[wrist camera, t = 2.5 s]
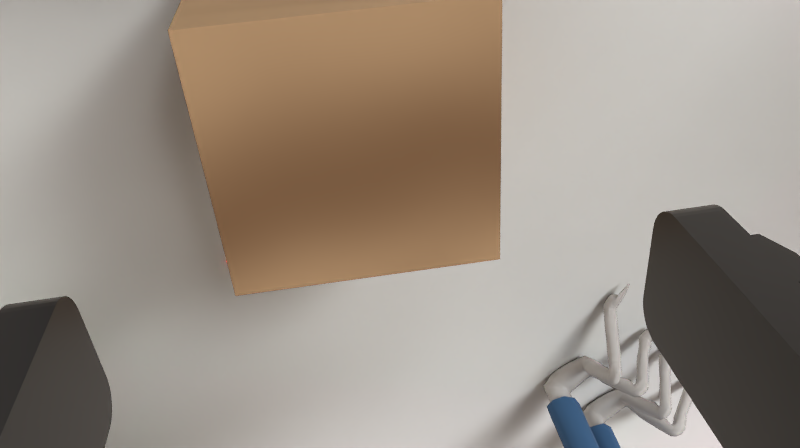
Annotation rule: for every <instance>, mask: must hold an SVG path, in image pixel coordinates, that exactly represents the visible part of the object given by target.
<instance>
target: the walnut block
mask: <svg viewBox="0 0 800 448" xmlns="http://www.w3.org/2000/svg"><path fill="white" fill-rule="evenodd" d="M168 34H169V38H170V41H171V45H172V49H173V53H174V57H175V61H176V65H177V69H178V73H179V77H180V81H181V84H182V88H183V92H184V96H185V100H186V104H187V108H188V112H189V116H190V120H191V124H192V127H193V131H194V135H195V139H196V143H197V147H198V151H199V155H200V159H201V163H202V167H203V170H204V174H205V178H206V182H207V186H208V190H209V194H210V198H211V202H212V206H213V210H214V213H215V217H216V221H217V225H218V229H219V233H220V237H221V241H222V245H223V249H224V253H225V256H226V260H227V264H228V268H229V272H230V276H231V280H232V284H233V288H234V292H235V295H236V296H239V295H246V294H253V293H260V292H267V291H275V290H282V289H289V288H296V287H303V286H310V285H318V284H325V283H332V282H339V281H346V280H353V279H361V278H368V277H375V276H382V275H389V274H397V273H404V272H411V271H418V270H425V269H432V268H440V267H447V266H454V265H461V264H468V263H475V262H483V261H490V260H497V259H500V184H501V75H502V0H181V2H180V4H179V6H178V9H177V11H176V13H175V15H174V18H173V20H172V22H171V24H170V27H169V29H168Z"/></svg>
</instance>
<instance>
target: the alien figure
mask: <svg viewBox="0 0 800 448" xmlns="http://www.w3.org/2000/svg"><path fill="white" fill-rule="evenodd" d="M629 285H630V284H628V285H627V286H626V287H625V288H624V289H623V290H622V291H621V293H620V294H619V295H615V294H611V295H610V296H609V297H608V298H607V300H606V301H605V303H604V305H603V306H604V321H605V332H606V342H607V353H608V363H609V369H608V368H607V367H605V366H603V365H602V364H601V363H599V362H597V361H595V360H593V359H591V358H589V357H586V356H583V357H580V358H578V359H576V360H574V361H572V362H570V363H568V364H566V365H564V366H563V367H561V368H560V369H558V370H556V371H555V372H554V373H553V374H551V375H550V377H549V378H548V380H547V381H546V383H545V384H544V386H543V387H544V389H545V392H546V394H547V396H548V399H549V401H550V404H549V405H548V406H547V408H548V411H549V414H550V416H551V418H552V421H553V423H554V425H555V428H556V430H557V432H558V435H559V437H560V439H561V441H562V444H563V446H564V448H620V446H619V443H618V441H617V439H616V437H615V435H614V433H613V431H612V429H611V427H609V426H608V425H606V424H604V422H605V421H606V420H608V419H609V418H611V417H612V416H613V415H615V414H616V413H617V412H619V411H620V410H621V409H623V408H624V407H629V408H630V409H631V410H632V411H633V412H635V413H636V414H637V415H638V416H639V417H640V418H642V419H643V420H645V421H647V422H648V423H650V424H651V425H653V426H655V427H656V428H658V429H659V430H661V431H663V432H665V433H666V434H668V435H670V436H678V435H681V434H682V433H683V431H684V430H685V425H686V416H687V413H688V410H689V408H690V405H691V402H692V400H691V398H690V397H689V395H688V393H687V392H686V390H685V389H683V392H682V395H681V398H680V401H679V404H678V407H677V410H676V413H675V416H674V421H673V424H670V423H669V422H668V421H667V419H665V418H667V417H668V416H669V415H670V412H671V410H672V404H671V378H670V374H671V368H670V366H669V365H668V363H667V362H666V360H665V359H664V357H663V356H662V354H660V355H659V375H660V389H659V392H660V406H658V405H657V404H656V402H652V401H649V400H646V399H644V398H642V397H640V396H642V395H643V394H645V393H646V391H647V390H648V382H649V375H648V354H649V351H650V348H651V342H652V341H653V340H652V338H651V336H650V334H649V331H648V329H647V330H645V331H644V332H643V333H642V334H641V335H640V336H639V350H638V355H637V373H636V384H635V385H634V384H633V383H632V382H631V380H628V379H625V378H622V377H621V373H622V369H621V352H620V343H619V333H618V324H617V312H616V308H617V306H618V305H619V303H620V302H621V301H622V299H623V297H624V295H625V294H626V291H627V289H628V287H629ZM590 376H593V377H594V378H597V379H599V380H600V381H601V382H603V383H605V384H607V385H609V386H611V387H613V388H615V389H616V390H614V391H611V392H608V393H606V394H605V395H603V396H601V397H600V398H598V399H596V400H595V401H593V402H592V403H591V404H589V405H588V406H587V407H586V409H585V410H584V411H582V409H581V406H580V404H579V403H578V402H577V401H576V399H575V398H572V397H571V391H573V390H574V389H575V388H576V387H577V386H578V385H579V384H581V383H582V382H583V381H584V380H585V379H587V378H588V377H590Z"/></svg>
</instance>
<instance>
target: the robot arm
mask: <svg viewBox="0 0 800 448" xmlns="http://www.w3.org/2000/svg"><path fill="white" fill-rule="evenodd" d="M643 309H644V317H645V321H646V325H647V328H648V331H649V334H650V336H651V338H652V340H653V342H654V343H655V345H656V346H657V348H658V349H659V351H660V353H661V354H662V356H663V357H664V359H665V360H666V362H667V363H668V365H669V366H670V368H671V369H672V371H673V372H674V374H675V375H676V377H677V378H678V380H679V381H680V383H681V384H682V386H683V387H684V389H685V390H686V392H687V393H688V395H689V397H690V398H691V400H692V401H693V403H694V404H695V406H696V407H697V409H698V410H699V412H700V413H701V415H702V416H703V418H704V419H705V421H706V422H707V424H708V425H709V427H710V428H711V430H712V431H713V433H714V434H715V436H716V437H717V439H718V441H719V442H720V444H721V445H722V447H723V448H800V256H799V255H798V254H797V253H795V252H793V251H791V250H789V249H787V248H785V247H783V246H781V245H779V244H777V243H775V242H774V241H772V240H770V239H768V238H766V237H764V236H762V235H760V234H756V235H750V234H749V233H748V232H747V231H746V230H745V229H744V228H743V227H742V226H741V225H740V224H739V223H738V222H736V221H735V220H734V219H733V218H732V217H731V216H730V215H729V214H728V213H727V212H726V211H725V210H724V209H723V208H722V207H720V206H718V205H708V206H701V207H694V208H687V209H680V210H673V211H666V212H662V213H660V214H659V215H658V216H657V218H656V220H655V223H654V228H653V234H652V241H651V248H650V255H649V262H648V269H647V276H646V283H645V290H644V298H643ZM111 417H112V401H111V392H110V387H109V383H108V380H107V377H106V375H105V372H104V370H103V367H102V365H101V363H100V360H99V358H98V355H97V353H96V351H95V348H94V346H93V343H92V341H91V339H90V336H89V334H88V331H87V329H86V327H85V324H84V322H83V319H82V317H81V315H80V312H79V310H78V308H77V306H76V304H75V303H74V301H73V300H72V299H71V298H69V297H67V296H64V297H57V298H50V299H43V300H36V301H29V302H22V303H15V304H8V305H5V306H4V307H3V308H2V309H1V310H0V448H105V444H106V440H107V436H108V433H109V429H110V424H111Z"/></svg>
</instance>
